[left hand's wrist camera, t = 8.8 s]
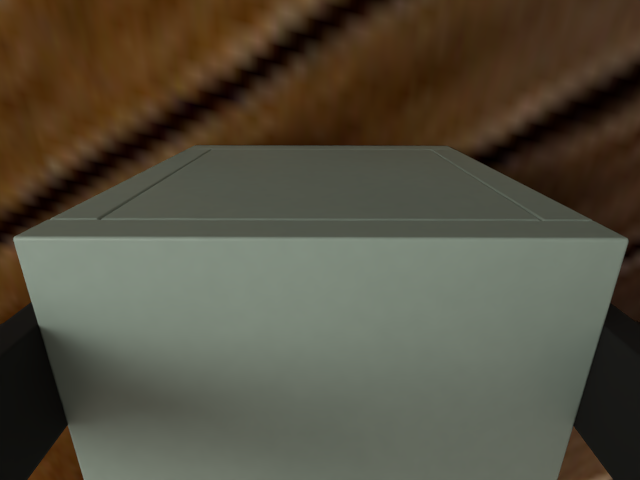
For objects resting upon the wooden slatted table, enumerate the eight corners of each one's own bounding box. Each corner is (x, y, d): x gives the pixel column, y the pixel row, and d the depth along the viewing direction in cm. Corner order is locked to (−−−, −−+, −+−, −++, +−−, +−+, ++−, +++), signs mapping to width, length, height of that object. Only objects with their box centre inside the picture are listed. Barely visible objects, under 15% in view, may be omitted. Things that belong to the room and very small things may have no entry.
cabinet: (412, 462, 26) (478, 744, 15) (228, 462, 26) (160, 742, 15) (448, 145, 19) (631, 238, 8) (193, 144, 19) (10, 236, 8)
